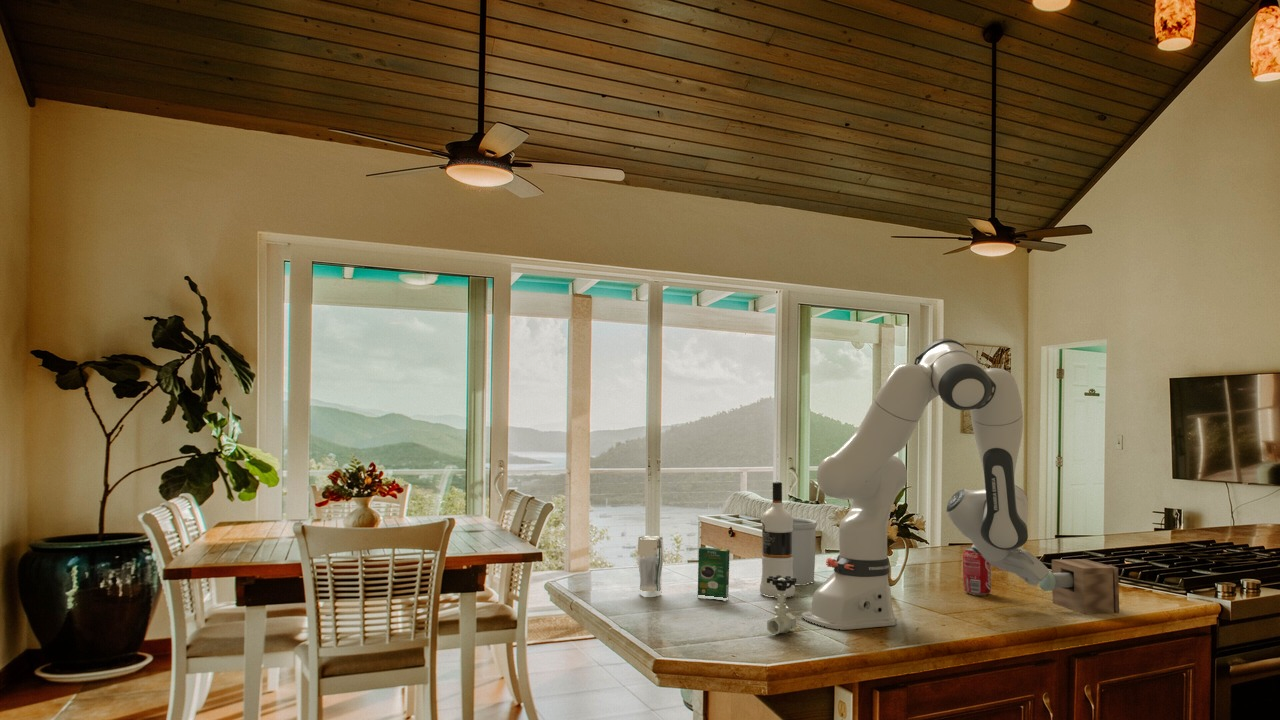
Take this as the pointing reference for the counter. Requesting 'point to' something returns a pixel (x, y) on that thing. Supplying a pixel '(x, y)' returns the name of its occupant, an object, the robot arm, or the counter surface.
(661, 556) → the beer glass
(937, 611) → the counter surface
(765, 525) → the vodka
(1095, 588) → the mount
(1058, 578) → the knob
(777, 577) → the valve
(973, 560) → the soda can
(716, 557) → the coffee box
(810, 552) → the utensil holder
